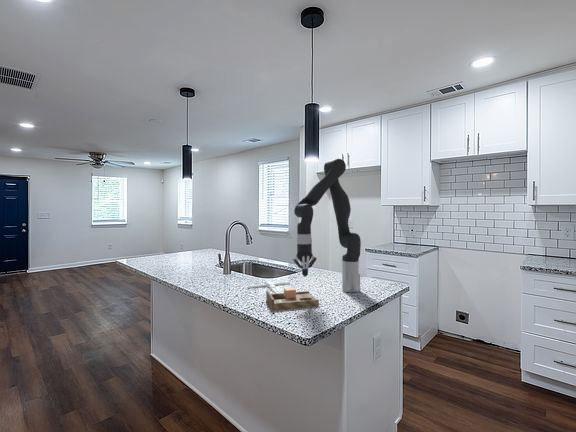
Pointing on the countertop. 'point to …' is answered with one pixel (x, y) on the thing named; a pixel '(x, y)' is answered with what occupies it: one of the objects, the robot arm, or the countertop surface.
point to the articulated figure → (270, 286)
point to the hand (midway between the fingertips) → (305, 275)
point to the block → (290, 292)
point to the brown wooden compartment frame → (291, 300)
